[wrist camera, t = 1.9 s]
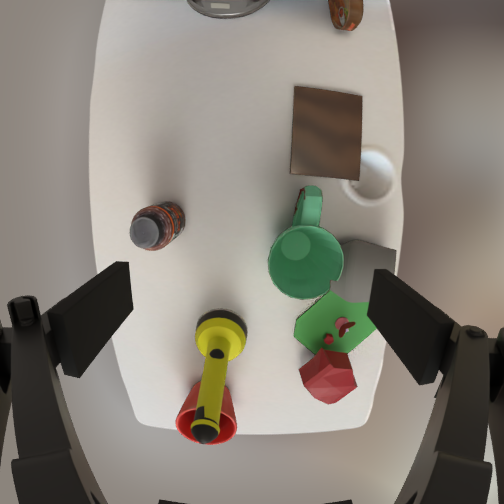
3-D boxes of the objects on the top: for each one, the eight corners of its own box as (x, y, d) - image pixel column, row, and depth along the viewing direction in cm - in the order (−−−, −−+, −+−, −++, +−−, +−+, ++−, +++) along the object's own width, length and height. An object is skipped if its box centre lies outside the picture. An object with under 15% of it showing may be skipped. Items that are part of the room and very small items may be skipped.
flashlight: (237, 468, 28) (253, 423, 26) (161, 454, 28) (162, 406, 25) (242, 356, 52) (252, 313, 50) (193, 347, 52) (199, 303, 50)
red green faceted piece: (266, 345, 52) (268, 376, 43) (352, 269, 48) (372, 289, 39) (317, 386, 54) (326, 417, 46) (396, 321, 51) (417, 345, 42)
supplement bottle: (193, 225, 46) (176, 241, 35) (163, 245, 47) (139, 266, 36) (173, 193, 45) (149, 200, 34) (143, 214, 46) (113, 226, 35)
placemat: (294, 86, 41) (294, 85, 40) (361, 97, 41) (362, 96, 40) (289, 173, 44) (290, 173, 44) (357, 180, 44) (359, 180, 44)
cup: (325, 241, 40) (396, 247, 36) (337, 235, 49) (396, 240, 44) (320, 306, 42) (388, 316, 37) (334, 290, 50) (390, 297, 46)
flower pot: (244, 408, 56) (243, 442, 46) (194, 413, 56) (187, 446, 47) (231, 370, 53) (228, 404, 44) (176, 377, 54) (166, 410, 44)
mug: (321, 276, 48) (337, 301, 39) (261, 273, 48) (264, 297, 39) (332, 186, 45) (353, 190, 35) (269, 180, 45) (275, 181, 35)
